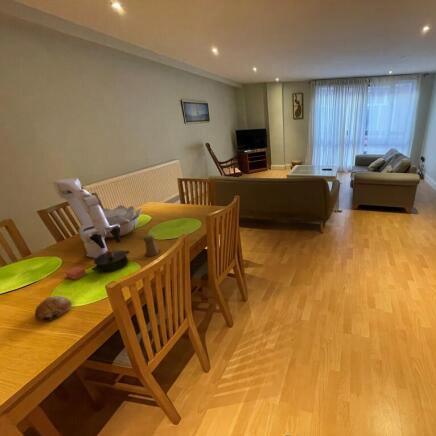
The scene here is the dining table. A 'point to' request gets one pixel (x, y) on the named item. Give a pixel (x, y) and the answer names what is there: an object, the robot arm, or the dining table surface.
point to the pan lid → (110, 257)
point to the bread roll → (52, 308)
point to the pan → (112, 266)
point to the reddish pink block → (76, 273)
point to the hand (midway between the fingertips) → (111, 245)
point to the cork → (150, 245)
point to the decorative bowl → (122, 219)
